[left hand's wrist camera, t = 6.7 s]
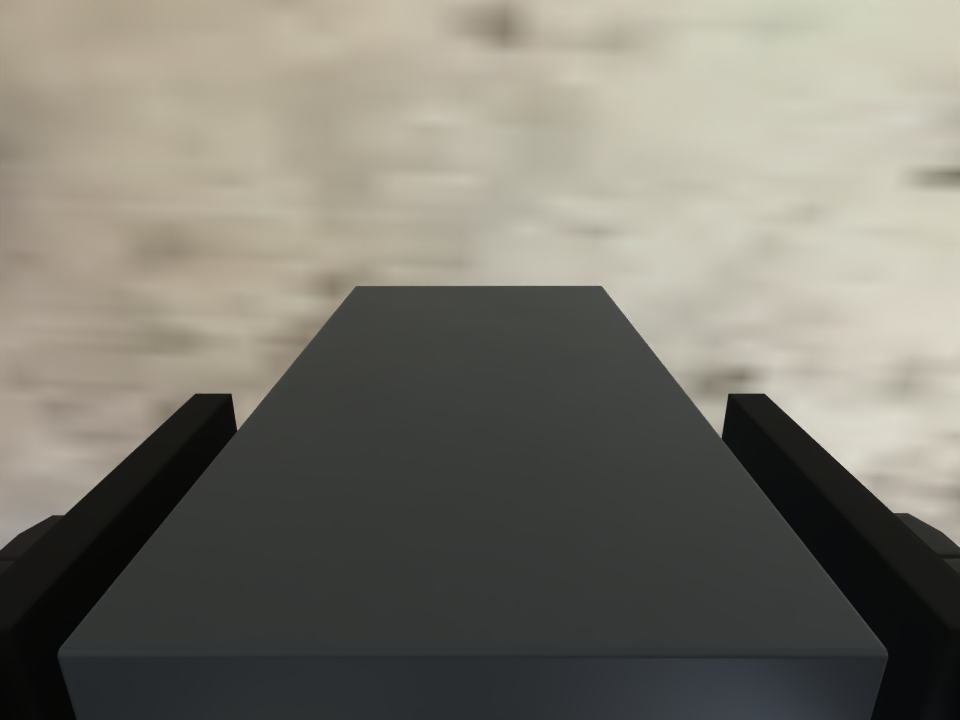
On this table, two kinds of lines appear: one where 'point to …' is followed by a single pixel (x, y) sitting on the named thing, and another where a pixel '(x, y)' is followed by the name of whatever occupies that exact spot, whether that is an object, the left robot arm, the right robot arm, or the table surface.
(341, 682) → the box
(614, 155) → the table surface
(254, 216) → the table surface
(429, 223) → the table surface
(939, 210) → the table surface
